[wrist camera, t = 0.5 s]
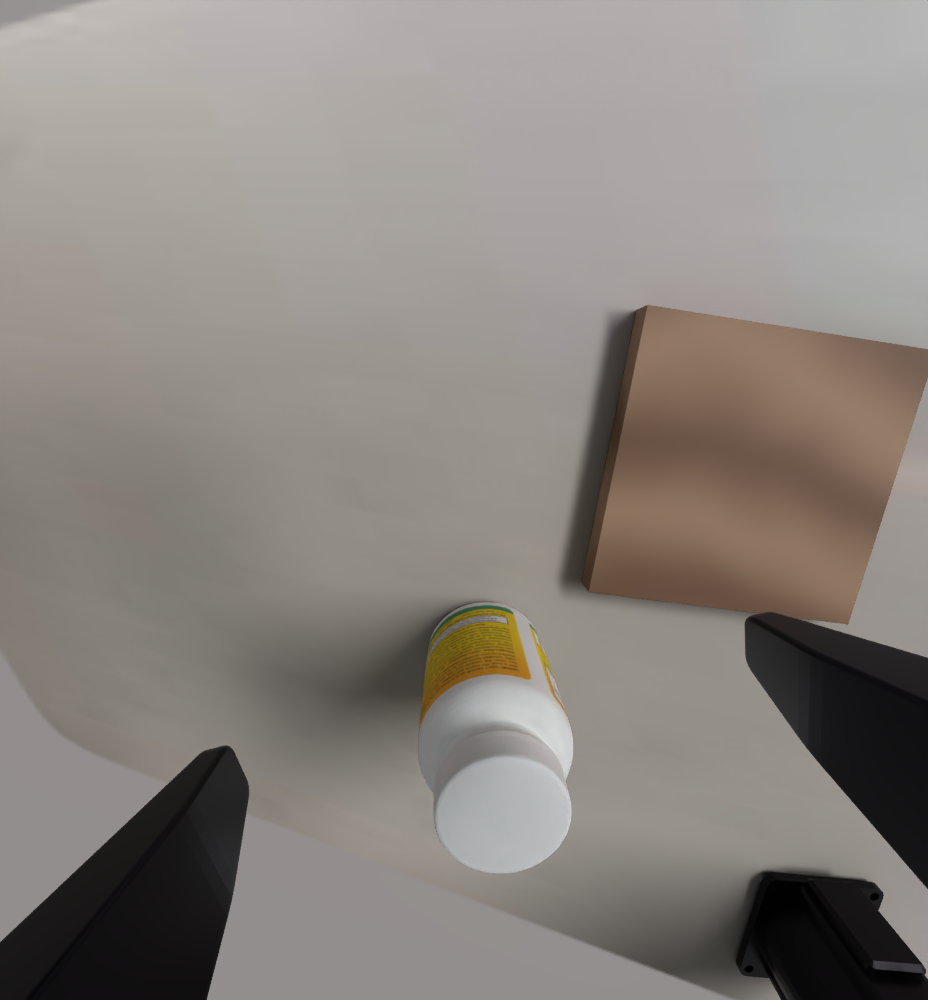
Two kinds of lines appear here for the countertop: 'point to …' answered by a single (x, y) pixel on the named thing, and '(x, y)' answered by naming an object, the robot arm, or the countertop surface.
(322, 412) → the countertop surface
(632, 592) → the walnut board
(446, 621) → the supplement bottle
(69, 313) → the countertop surface
